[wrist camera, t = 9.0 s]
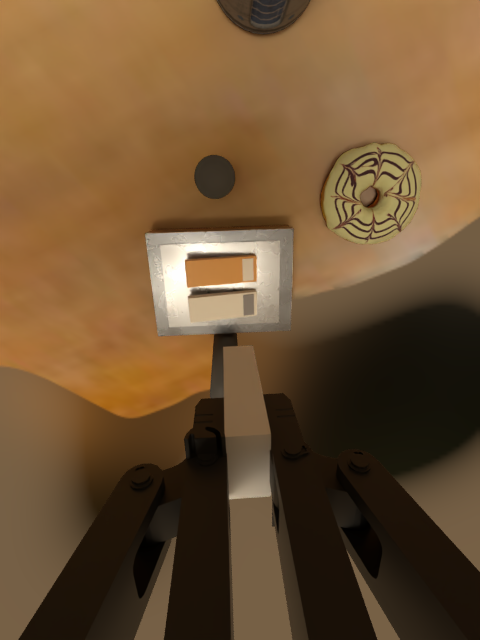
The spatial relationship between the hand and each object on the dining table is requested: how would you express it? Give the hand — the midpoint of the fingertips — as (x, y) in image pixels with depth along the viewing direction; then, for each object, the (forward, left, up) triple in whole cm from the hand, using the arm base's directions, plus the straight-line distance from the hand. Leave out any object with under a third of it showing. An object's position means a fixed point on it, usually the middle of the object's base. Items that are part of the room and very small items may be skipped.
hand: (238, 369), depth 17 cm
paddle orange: (-1, +1, -20) cm, 20 cm away
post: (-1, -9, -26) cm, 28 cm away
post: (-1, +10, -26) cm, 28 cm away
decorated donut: (+16, +8, -26) cm, 32 cm away
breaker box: (-1, -1, -26) cm, 26 cm away
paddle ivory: (-1, -3, -20) cm, 21 cm away
